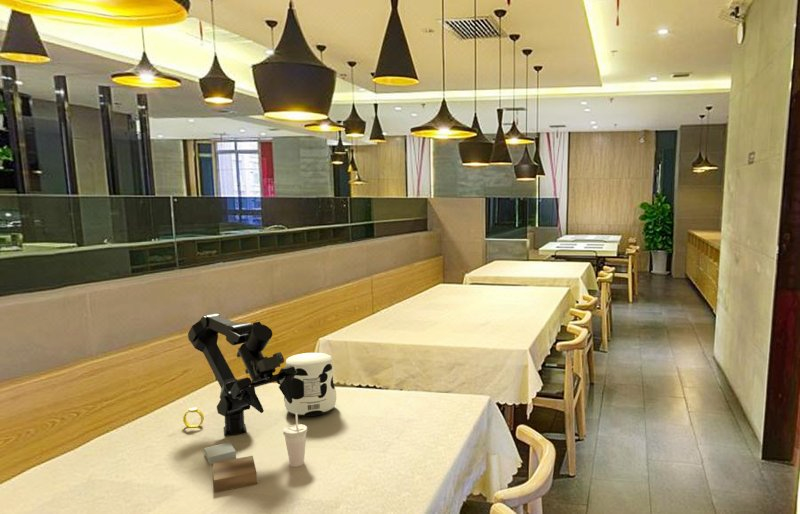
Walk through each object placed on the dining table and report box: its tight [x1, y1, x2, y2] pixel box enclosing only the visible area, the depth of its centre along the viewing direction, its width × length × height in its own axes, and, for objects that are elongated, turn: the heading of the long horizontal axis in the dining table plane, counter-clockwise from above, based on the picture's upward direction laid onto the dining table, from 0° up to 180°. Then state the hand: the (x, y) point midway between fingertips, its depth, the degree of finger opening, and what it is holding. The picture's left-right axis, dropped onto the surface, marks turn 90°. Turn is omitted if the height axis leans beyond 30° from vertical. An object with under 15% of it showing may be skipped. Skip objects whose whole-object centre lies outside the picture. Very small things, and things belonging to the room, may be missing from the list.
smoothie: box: [282, 412, 308, 468], centre depth 145 cm, size 6×6×14 cm
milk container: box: [283, 352, 337, 417], centre depth 183 cm, size 17×17×18 cm
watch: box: [182, 407, 205, 428], centre depth 173 cm, size 6×3×6 cm, turn 91°
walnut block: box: [212, 455, 258, 493], centre depth 138 cm, size 10×10×3 cm
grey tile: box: [203, 441, 237, 465], centre depth 151 cm, size 7×7×2 cm
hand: (277, 407), depth 151 cm, fingers open, 9 cm apart
